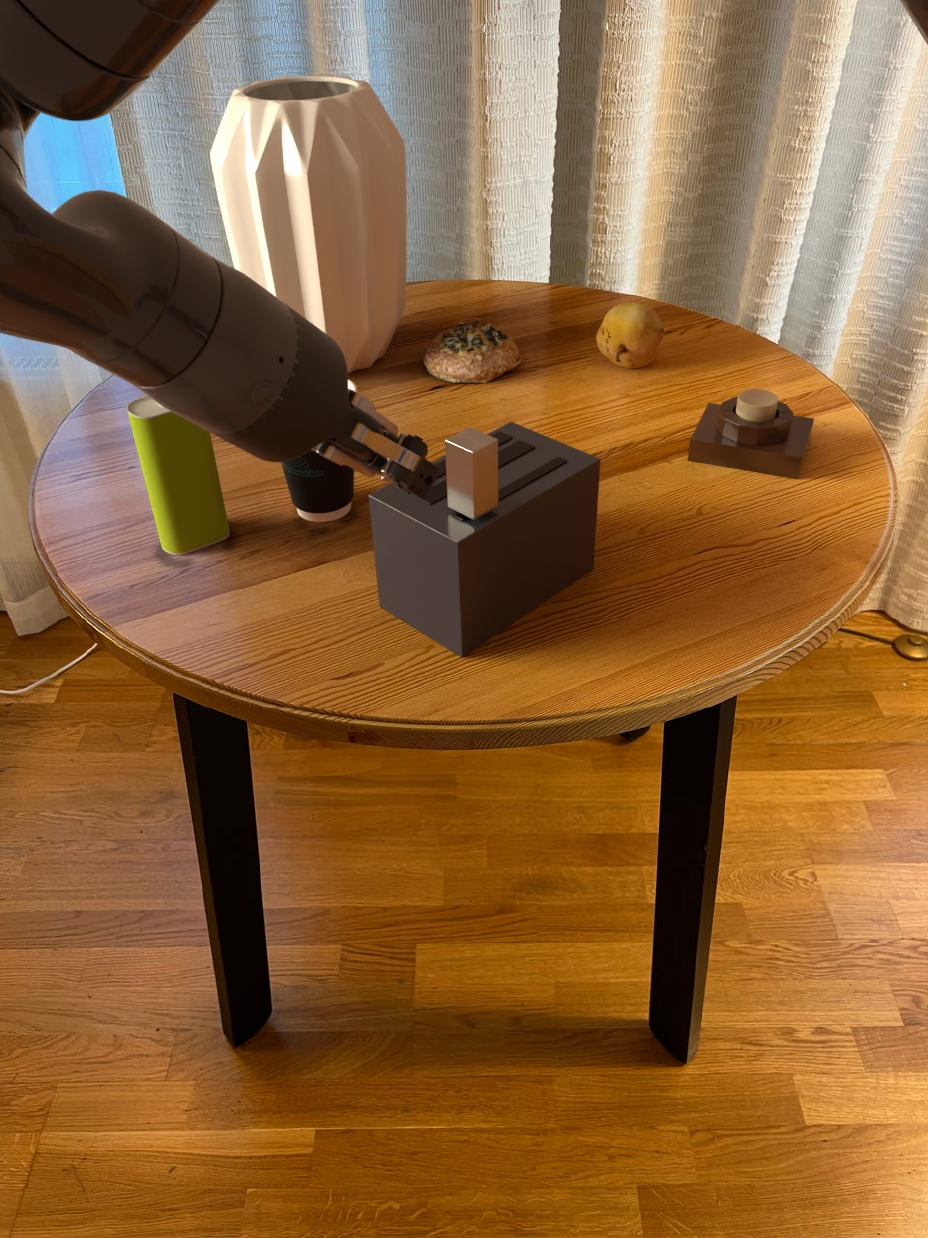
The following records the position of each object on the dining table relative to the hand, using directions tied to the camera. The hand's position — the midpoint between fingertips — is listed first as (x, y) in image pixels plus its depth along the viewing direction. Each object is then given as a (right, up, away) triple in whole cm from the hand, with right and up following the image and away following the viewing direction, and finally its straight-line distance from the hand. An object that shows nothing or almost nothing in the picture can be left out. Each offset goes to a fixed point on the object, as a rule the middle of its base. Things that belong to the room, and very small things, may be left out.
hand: (425, 480), depth 65 cm
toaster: (+4, -6, +15) cm, 17 cm away
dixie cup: (-10, +1, +25) cm, 27 cm away
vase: (-13, +21, +51) cm, 56 cm away
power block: (+29, +7, +31) cm, 43 cm away
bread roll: (+3, +19, +48) cm, 52 cm away
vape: (-20, -2, +22) cm, 30 cm away
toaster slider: (+3, -1, +5) cm, 6 cm away
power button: (+29, +10, +29) cm, 42 cm away
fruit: (+20, +19, +47) cm, 55 cm away
